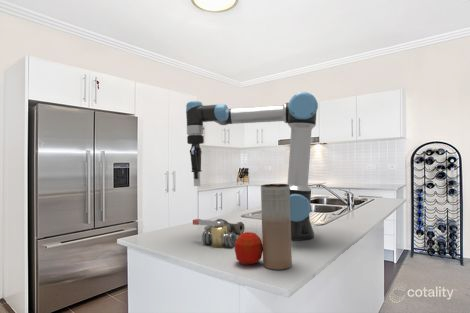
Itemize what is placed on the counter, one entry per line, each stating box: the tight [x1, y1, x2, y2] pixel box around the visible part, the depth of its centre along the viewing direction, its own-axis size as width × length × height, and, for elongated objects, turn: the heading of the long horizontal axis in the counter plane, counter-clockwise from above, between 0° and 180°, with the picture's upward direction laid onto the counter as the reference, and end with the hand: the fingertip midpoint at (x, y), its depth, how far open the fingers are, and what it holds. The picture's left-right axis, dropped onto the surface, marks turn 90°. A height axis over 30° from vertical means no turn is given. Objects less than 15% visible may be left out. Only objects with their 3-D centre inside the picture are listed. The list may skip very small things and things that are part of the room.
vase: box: [260, 183, 293, 271], centre depth 102 cm, size 10×10×28 cm
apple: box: [234, 231, 263, 266], centre depth 105 cm, size 10×10×12 cm
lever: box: [192, 218, 224, 227], centre depth 131 cm, size 15×4×2 cm, turn 60°
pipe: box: [204, 218, 246, 235], centre depth 146 cm, size 16×9×15 cm
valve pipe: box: [201, 226, 238, 249], centre depth 128 cm, size 14×7×8 cm, turn 62°
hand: (197, 185), depth 136 cm, fingers closed
